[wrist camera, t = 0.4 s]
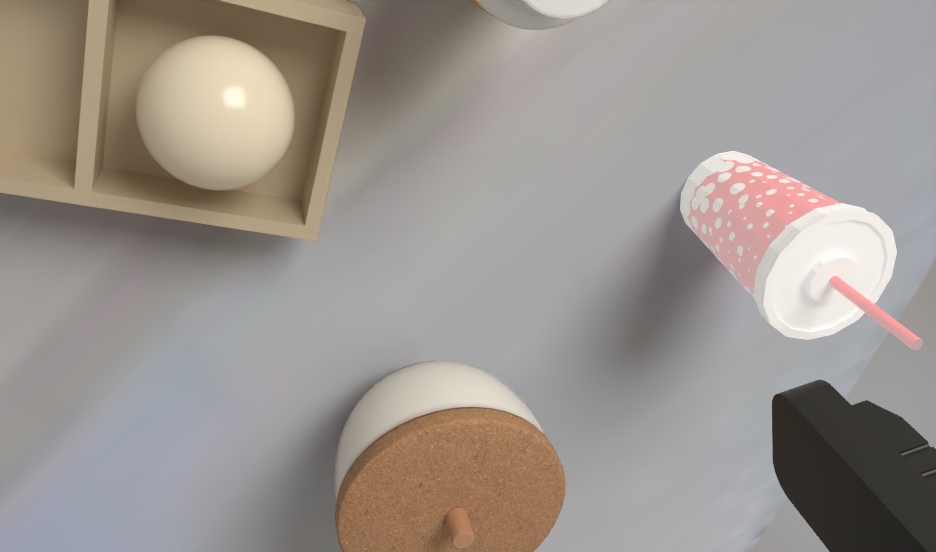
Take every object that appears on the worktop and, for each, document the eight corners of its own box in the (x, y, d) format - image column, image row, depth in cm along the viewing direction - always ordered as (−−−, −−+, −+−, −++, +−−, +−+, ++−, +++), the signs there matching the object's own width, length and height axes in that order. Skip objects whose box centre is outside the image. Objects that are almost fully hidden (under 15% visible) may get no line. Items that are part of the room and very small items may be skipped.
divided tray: (-179, -136, 26) (-229, -132, 23) (356, 3, 32) (366, 19, 29) (-164, 130, 30) (-206, 161, 27) (311, 209, 36) (316, 241, 33)
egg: (153, 4, 30) (134, 37, 25) (303, 40, 31) (313, 77, 27) (137, 145, 32) (118, 200, 27) (278, 170, 34) (283, 226, 29)
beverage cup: (644, 193, 39) (815, 350, 27) (743, 111, 38) (964, 236, 27) (700, 268, 42) (876, 438, 31) (794, 194, 42) (1011, 339, 30)
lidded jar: (470, 288, 40) (525, 403, 32) (547, 425, 45) (610, 552, 37) (283, 389, 40) (291, 528, 32) (382, 513, 46) (411, 657, 38)
